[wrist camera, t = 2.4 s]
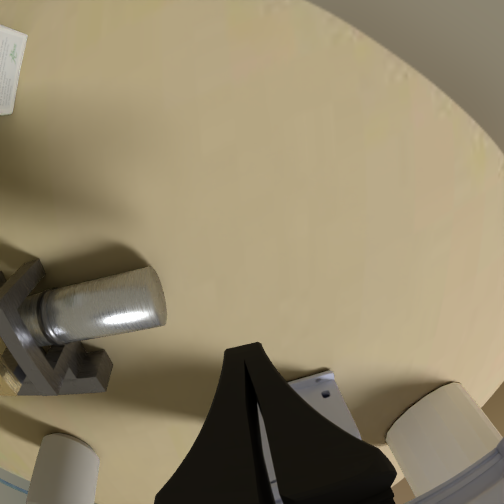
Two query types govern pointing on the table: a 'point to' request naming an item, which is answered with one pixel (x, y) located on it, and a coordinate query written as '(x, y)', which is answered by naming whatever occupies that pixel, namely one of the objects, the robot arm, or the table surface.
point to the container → (441, 437)
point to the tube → (96, 308)
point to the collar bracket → (33, 357)
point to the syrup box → (10, 66)
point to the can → (64, 472)
